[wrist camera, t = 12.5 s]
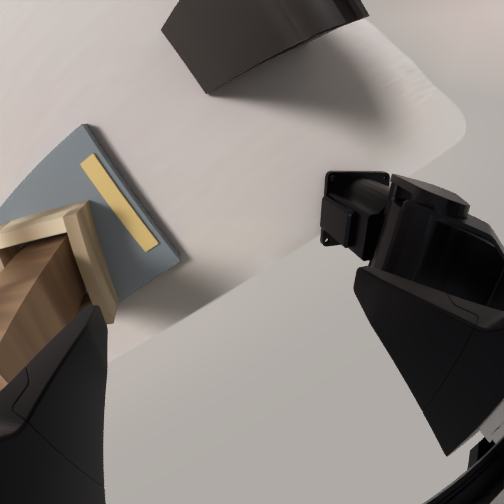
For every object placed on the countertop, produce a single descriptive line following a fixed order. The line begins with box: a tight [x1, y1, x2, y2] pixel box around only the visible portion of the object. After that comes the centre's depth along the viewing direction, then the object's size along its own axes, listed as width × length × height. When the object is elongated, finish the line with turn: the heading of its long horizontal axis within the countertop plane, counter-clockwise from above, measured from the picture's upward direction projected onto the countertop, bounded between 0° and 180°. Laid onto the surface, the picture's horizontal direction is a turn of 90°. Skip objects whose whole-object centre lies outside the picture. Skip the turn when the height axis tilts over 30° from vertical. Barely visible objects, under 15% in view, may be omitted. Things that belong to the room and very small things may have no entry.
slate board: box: [0, 124, 180, 302], centre depth 19 cm, size 16×12×1 cm
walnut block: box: [0, 232, 86, 391], centre depth 13 cm, size 4×4×13 cm
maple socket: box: [0, 200, 118, 324], centre depth 17 cm, size 8×8×3 cm
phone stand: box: [161, 0, 369, 94], centre depth 11 cm, size 9×6×12 cm, turn 121°
